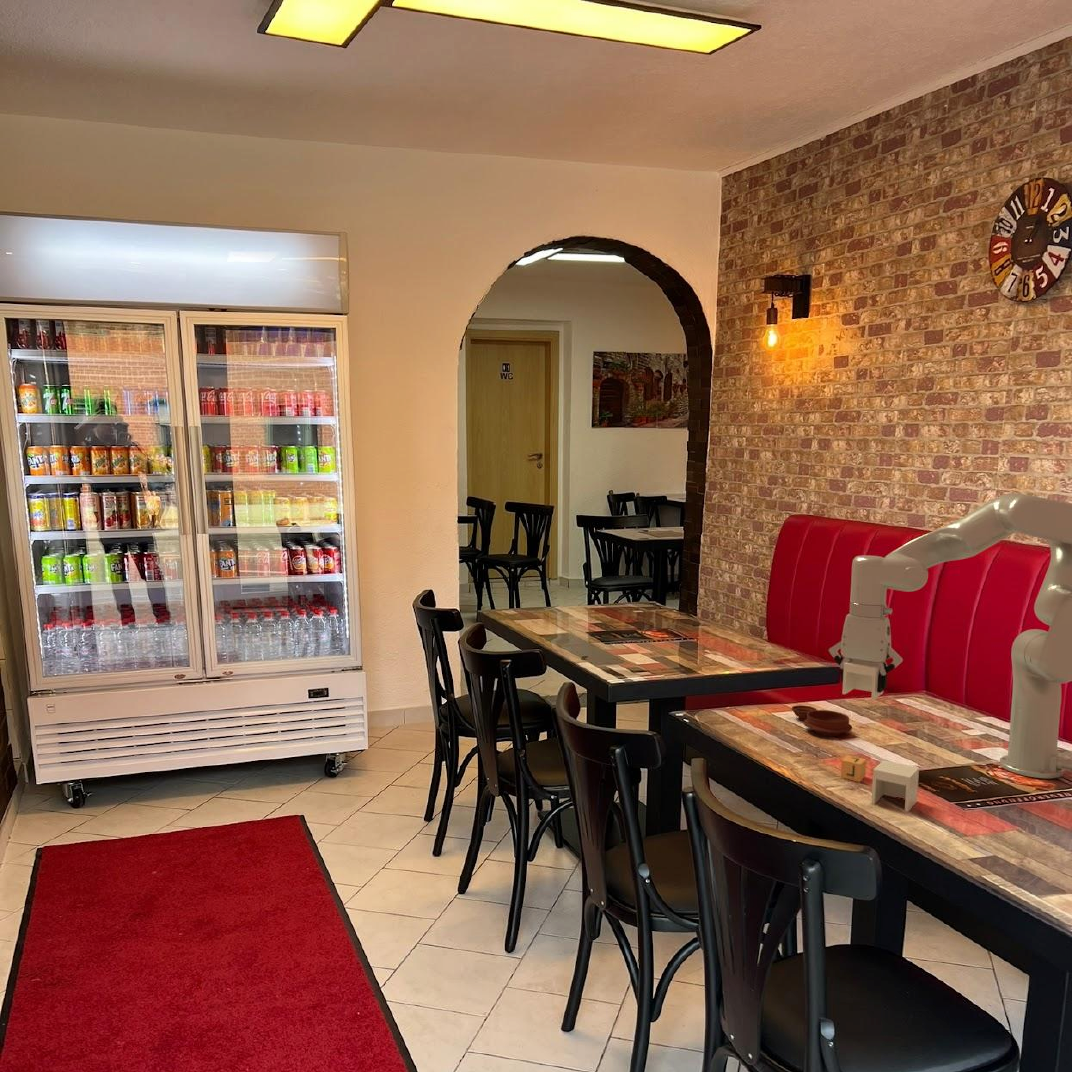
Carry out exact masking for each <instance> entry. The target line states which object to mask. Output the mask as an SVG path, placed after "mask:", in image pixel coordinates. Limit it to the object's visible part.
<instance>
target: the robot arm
mask: <svg viewBox="0 0 1072 1072" xmlns="http://www.w3.org/2000/svg"><path fill="white" fill-rule="evenodd" d="M1013 534H1020V535H1023V536H1025V535H1026V536H1030V537H1033V538H1038V539H1041V540H1046V541H1047V542H1048V545H1049V548H1050V561H1049V565H1048V569H1047V571H1046V573H1045V577H1044V578H1043V582H1042V584H1041V586H1040V589H1039V591H1038V594H1037V597H1036V598H1035V602H1034V606H1033V610H1034V614H1035V616H1036V618H1037V619H1038V620H1039V621H1041V622H1042V623H1043V624H1045V625H1047V626H1049V629H1048V631H1047V630H1043V629H1037V628H1034V629H1027V630H1025V631H1022V632H1021V633H1019V634H1018V635H1017V636H1016V637H1015V639H1014V641H1013V642H1012V646H1011V650H1010V651H1011V652H1010V654H1011V666H1012V694H1011V707H1010V708H1011V709H1010V721H1009V722H1010V724H1009V736H1008V738H1009V739H1008V750H1007V753H1008V754H1007V755H1004V756H1002V757H1000V759H999V765H1000V767H1001V768H1003V769H1004V770H1006V771H1009V772H1011V773H1014V774H1018V775H1020V776H1024V777H1025V776H1026V777H1029V778H1037V779H1058V778H1061V777H1063V776H1064V771H1065V770H1069V771H1072V759H1071V758H1063V756H1061V751H1060V750H1058V742H1059V741H1058V740H1059V728H1060V719H1061V718H1060V717H1061V716H1060V715H1061V706H1062V684H1067V683H1070V682H1072V502H1065V501H1059V500H1056V499H1055V500H1054V499H1050V498H1046V497H1041V496H1038V495H1037V496H1036V495H1033V494H1024V493H1016V492H1015V493H1013V492H1010V493H1005V494H1001V495H999V496H997V497H995V498H993V499H992V500H990V501H988V502H987V503H984V504H983V505H981V506H979V507H977V508H976V509H975V510H972V511H971V512H969V513H968V514H965V515H964V516H962V517H961V518H959V519H957V520H955V521H954V522H951V523H949V524H947V525H944V526H942V527H939V528H937V529H935V530H933V531H931V532H928V533H926V534H923V535H922V536H919V537H917V538H914V539H912V540H910V541H909V542H907V543H905V544H902V546H900V547H898V548H897V549H895V550H893V551H891V552H890V553H888V554H887V555H886V556H885V557H883V556H880V555H879V556H878V555H867V554H866V555H863V554H862V555H857V556H855V557H854V558H853V559H852V564H851V578H850V579H851V582H850V583H851V584H850V600H849V613H848V614H846V616H845V620H844V624H843V629H842V635H841V640H840V641H839V642H838V643H836V644H835V645H833V646H832V647H829V649H828V652H829V653H830V655H831V656H832V658H833V659H834V661H835V662H836V663H837V665H838V666H839V669H841V673H840V682H842V683H843V672H844V663H846V662H849V661H850V660H859V661H865V662H872V663H876V664H877V667H879V671H880V674H879V675H878V686H877V692H879V693H881V692H882V691H883V692H884V690H886V689H887V685H888V684H887V683H888V674H889V673H890V672H891V671H893V670H894V669H895V668H897V667H898V666H899V665H900V664H901V663H902V662H903V661H904V659H903V658H902V656H900V654H898V653H897V651H895V649H893V647H892V635H891V634H892V633H891V623H890V619H889V617H886V616H887V615H892V613H893V608H890V607H888V605H887V590H888V589H889V590H895V591H899V592H900V591H901V592H906V593H907V592H908V593H909V592H915V591H918V590H920V589H922V588H923V587H925V585H926V583H927V582H928V578H929V570H928V569H929V568H932V567H934V566H936V565H939V564H943V563H945V562H951V561H960V560H964V559H968V558H972V557H975V556H976V555H978V554H979V553H982V552H984V551H985V550H987V549H988V548H991V547H992V546H994V545H996V544H997V543H999V542H1002V541H1003V540H1005V539H1007V538H1008V537H1010V536H1012V535H1013ZM839 650H840V654H841V655H840V654H839V652H838V651H839ZM890 659H892V660H893V661H892V662H890V663H889V664H887V662H886V661H887V660H890Z"/></svg>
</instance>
